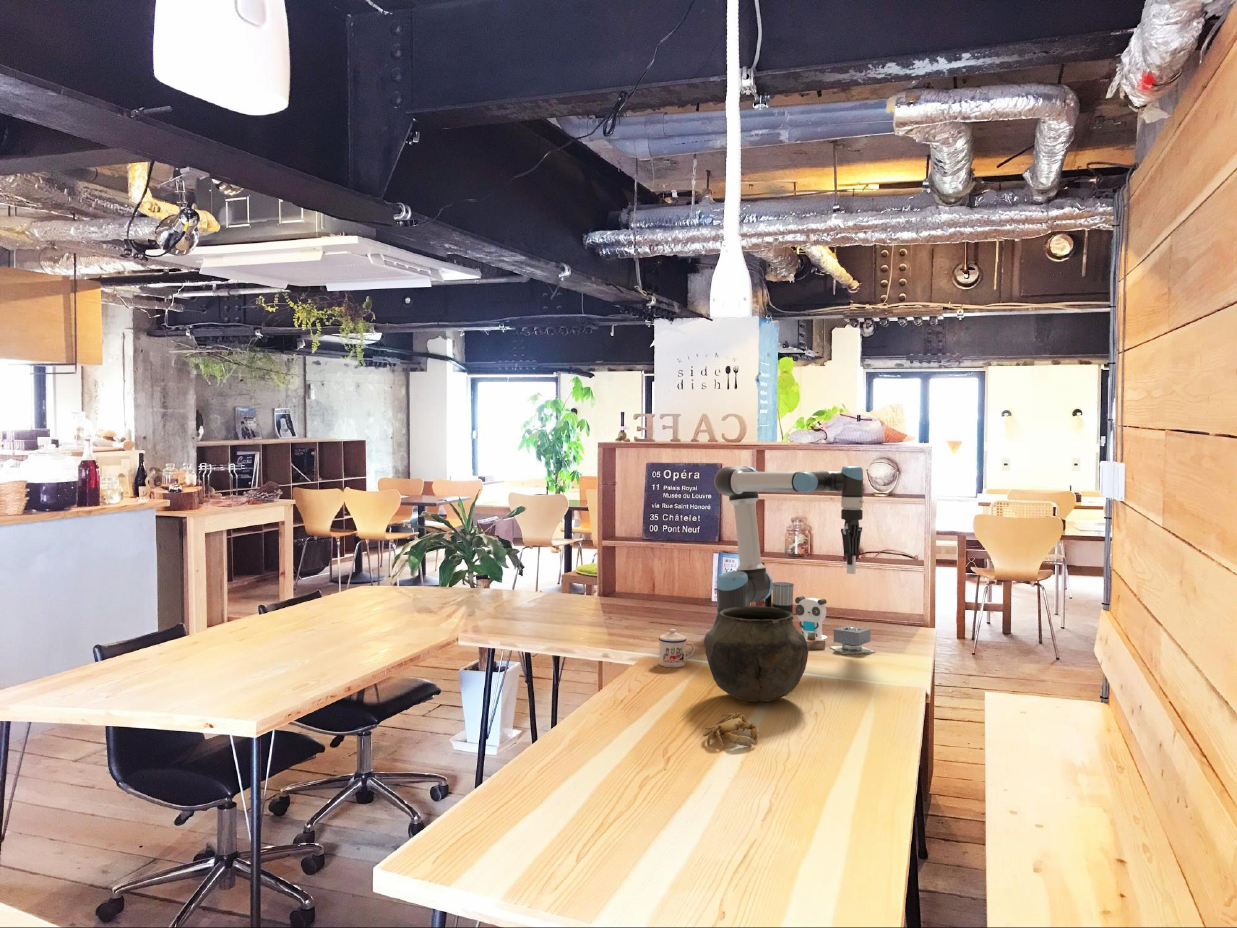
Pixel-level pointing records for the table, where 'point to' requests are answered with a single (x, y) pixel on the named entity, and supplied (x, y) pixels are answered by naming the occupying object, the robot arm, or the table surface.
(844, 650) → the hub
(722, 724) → the crab model
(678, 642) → the teacup with lid
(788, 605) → the milk frother
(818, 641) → the stand
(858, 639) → the grey square block
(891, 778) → the table surface
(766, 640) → the pot
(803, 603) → the panda figurine
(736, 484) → the robot arm
